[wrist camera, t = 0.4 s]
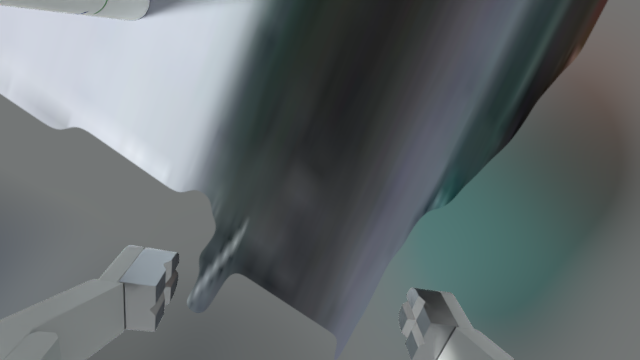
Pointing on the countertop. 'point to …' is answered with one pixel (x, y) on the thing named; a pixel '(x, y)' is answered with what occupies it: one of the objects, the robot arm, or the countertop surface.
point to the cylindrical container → (87, 7)
